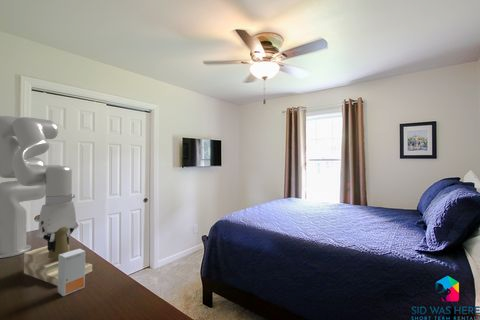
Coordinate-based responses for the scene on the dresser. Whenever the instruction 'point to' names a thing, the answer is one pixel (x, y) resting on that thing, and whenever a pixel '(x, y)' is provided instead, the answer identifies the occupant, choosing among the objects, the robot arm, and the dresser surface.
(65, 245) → the cork
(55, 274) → the step stand
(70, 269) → the skincare box
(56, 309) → the dresser surface
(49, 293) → the dresser surface
